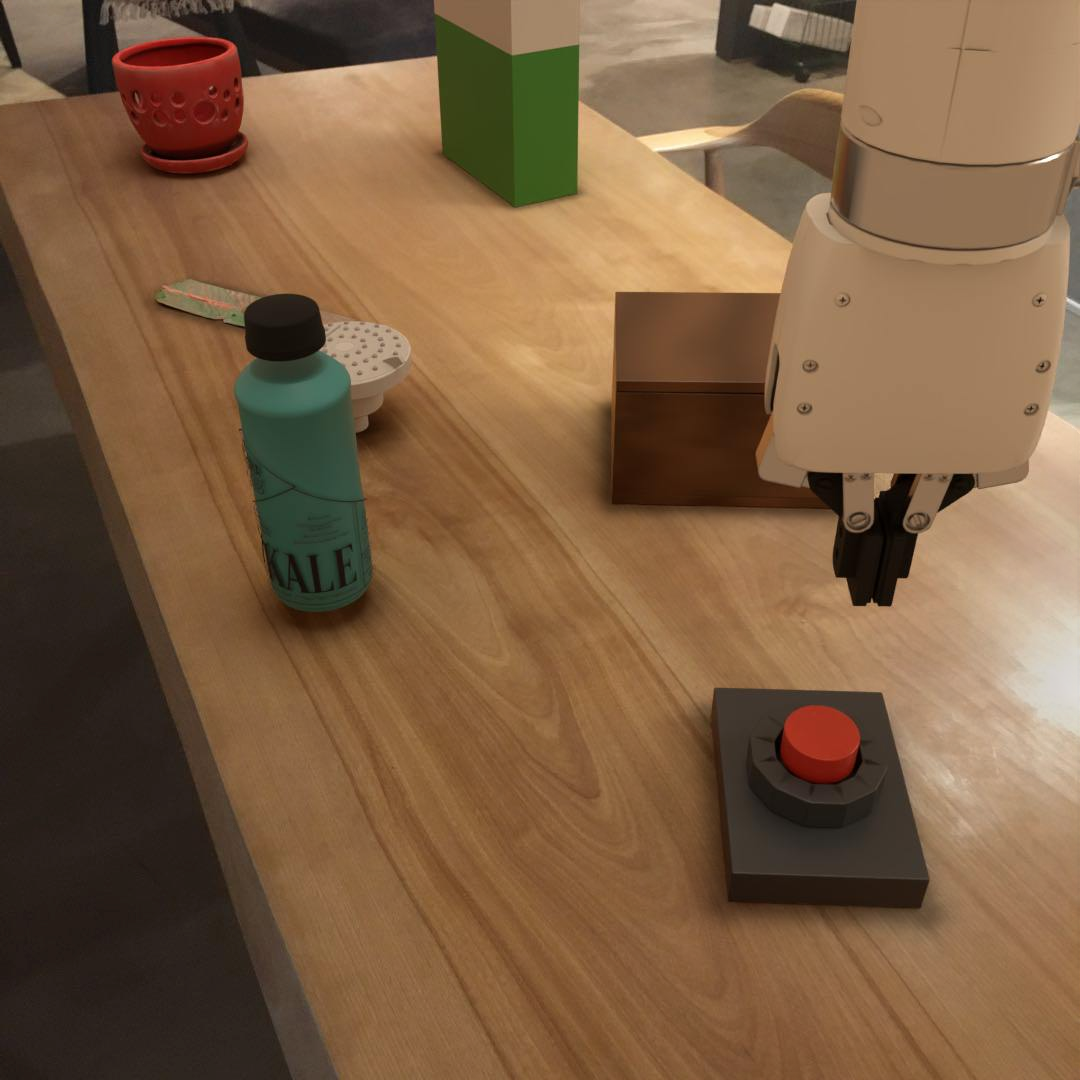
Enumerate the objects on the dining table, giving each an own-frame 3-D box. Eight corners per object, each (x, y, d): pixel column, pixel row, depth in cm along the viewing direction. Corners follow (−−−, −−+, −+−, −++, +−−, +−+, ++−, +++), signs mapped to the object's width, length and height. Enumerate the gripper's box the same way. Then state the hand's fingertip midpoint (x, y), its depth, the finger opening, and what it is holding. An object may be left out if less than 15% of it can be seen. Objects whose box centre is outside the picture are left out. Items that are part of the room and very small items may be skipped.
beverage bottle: (342, 552, 76) (302, 265, 64) (399, 604, 72) (369, 308, 60) (252, 594, 73) (192, 300, 61) (307, 651, 69) (255, 348, 57)
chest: (816, 410, 90) (833, 305, 84) (842, 508, 80) (863, 396, 74) (611, 406, 90) (615, 302, 85) (611, 503, 80) (615, 392, 75)
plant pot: (270, 142, 137) (253, 33, 129) (230, 185, 127) (210, 69, 119) (163, 137, 138) (141, 30, 131) (115, 179, 128) (88, 65, 121)
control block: (710, 715, 65) (716, 662, 62) (875, 720, 65) (888, 667, 62) (727, 901, 55) (735, 848, 53) (921, 908, 55) (938, 855, 53)
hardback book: (442, 153, 133) (429, -82, 119) (500, 142, 136) (494, -90, 121) (514, 207, 121) (510, -49, 106) (577, 193, 124) (580, -58, 109)
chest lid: (847, 303, 84) (849, 293, 84) (879, 394, 74) (881, 383, 74) (615, 301, 85) (615, 291, 84) (615, 391, 75) (616, 380, 75)
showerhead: (361, 387, 79) (248, 350, 83) (372, 476, 83) (264, 437, 87) (442, 329, 85) (333, 298, 89) (447, 415, 90) (343, 381, 94)
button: (776, 728, 59) (780, 703, 58) (848, 730, 59) (853, 705, 58) (784, 783, 56) (788, 758, 55) (860, 786, 56) (866, 761, 55)
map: (181, 284, 109) (179, 274, 108) (365, 320, 101) (364, 310, 100) (144, 306, 105) (141, 296, 105) (331, 346, 97) (329, 335, 97)
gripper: (1131, 138, 43) (1016, 534, 54) (717, 141, 44) (690, 531, 55) (1214, 224, 37) (1065, 647, 48) (734, 225, 38) (699, 642, 49)
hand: (866, 585), depth 52 cm, fingers closed
